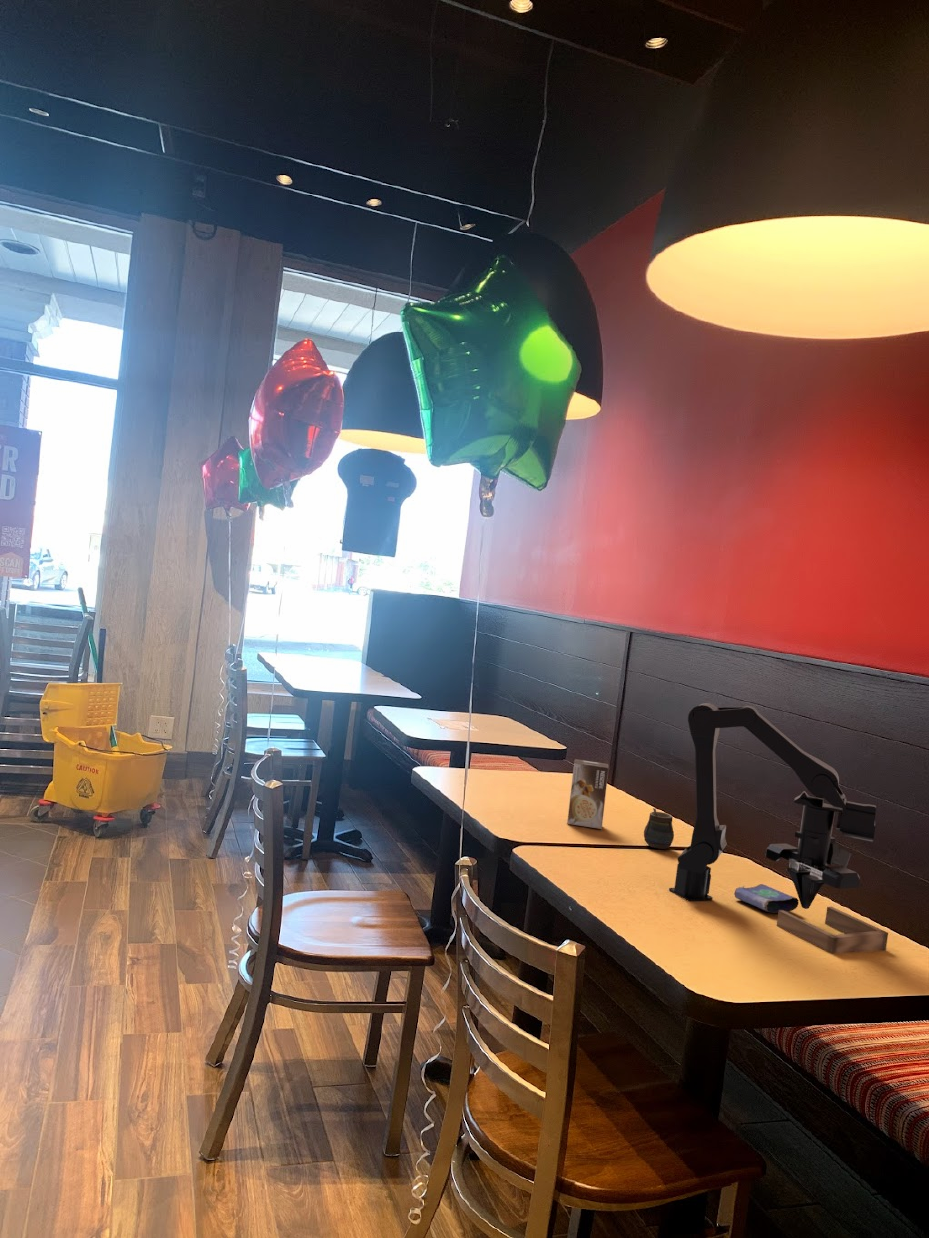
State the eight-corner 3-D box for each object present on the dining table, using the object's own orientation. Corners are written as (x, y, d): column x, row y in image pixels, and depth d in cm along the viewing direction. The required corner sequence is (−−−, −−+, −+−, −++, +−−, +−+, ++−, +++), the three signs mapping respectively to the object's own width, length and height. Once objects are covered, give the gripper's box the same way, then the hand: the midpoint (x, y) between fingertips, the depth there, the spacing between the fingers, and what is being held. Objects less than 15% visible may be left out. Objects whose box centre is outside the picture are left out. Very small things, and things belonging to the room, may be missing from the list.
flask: (767, 900, 182) (727, 884, 191) (766, 915, 182) (726, 898, 192) (799, 896, 187) (759, 880, 196) (798, 910, 187) (758, 894, 196)
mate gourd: (676, 847, 227) (681, 807, 227) (665, 853, 221) (671, 812, 220) (649, 840, 231) (654, 800, 230) (637, 845, 224) (643, 805, 224)
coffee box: (602, 823, 242) (610, 763, 241) (601, 829, 235) (609, 768, 235) (567, 818, 243) (575, 758, 242) (566, 823, 237) (573, 762, 236)
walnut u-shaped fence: (831, 957, 165) (833, 938, 165) (776, 928, 177) (778, 910, 176) (885, 951, 171) (888, 932, 171) (829, 923, 183) (831, 906, 183)
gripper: (885, 843, 175) (873, 924, 175) (808, 815, 191) (798, 889, 192) (843, 845, 169) (832, 927, 170) (769, 816, 186) (758, 891, 187)
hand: (805, 908), depth 180 cm, fingers closed
